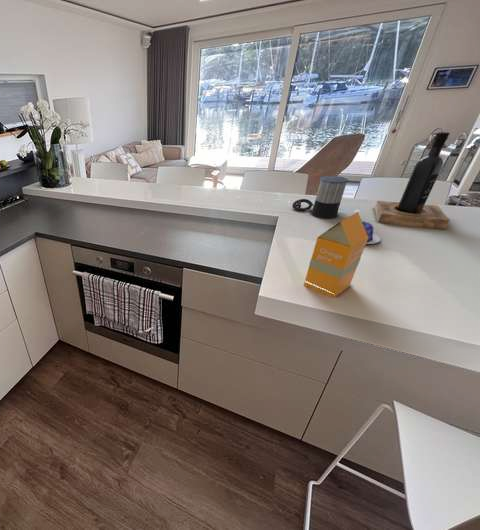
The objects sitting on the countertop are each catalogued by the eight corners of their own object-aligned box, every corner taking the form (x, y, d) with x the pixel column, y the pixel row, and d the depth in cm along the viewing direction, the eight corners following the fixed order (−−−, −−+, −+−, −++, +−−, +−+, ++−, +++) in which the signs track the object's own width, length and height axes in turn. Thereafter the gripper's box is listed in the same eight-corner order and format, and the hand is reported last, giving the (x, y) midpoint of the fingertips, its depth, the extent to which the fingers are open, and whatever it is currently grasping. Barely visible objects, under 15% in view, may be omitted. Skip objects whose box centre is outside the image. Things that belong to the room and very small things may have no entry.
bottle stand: (433, 213, 111) (437, 204, 109) (445, 230, 99) (450, 220, 97) (374, 208, 120) (377, 200, 118) (378, 222, 108) (381, 214, 106)
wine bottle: (419, 218, 108) (460, 132, 93) (409, 221, 107) (449, 134, 91) (401, 214, 113) (438, 131, 98) (392, 217, 111) (427, 133, 96)
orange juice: (350, 285, 77) (377, 215, 67) (333, 298, 73) (360, 226, 63) (319, 274, 83) (340, 207, 73) (302, 285, 79) (322, 216, 69)
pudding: (332, 229, 106) (336, 216, 103) (372, 232, 102) (377, 218, 99) (340, 244, 97) (345, 229, 94) (385, 247, 92) (391, 232, 90)
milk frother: (339, 219, 113) (351, 182, 106) (294, 217, 119) (302, 181, 112) (331, 207, 125) (342, 172, 117) (290, 205, 130) (298, 172, 123)
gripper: (501, 107, 95) (450, 141, 103) (565, 110, 78) (499, 150, 86) (511, 121, 96) (460, 153, 104) (576, 127, 79) (510, 164, 87)
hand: (478, 152), depth 95 cm, fingers open, 8 cm apart
